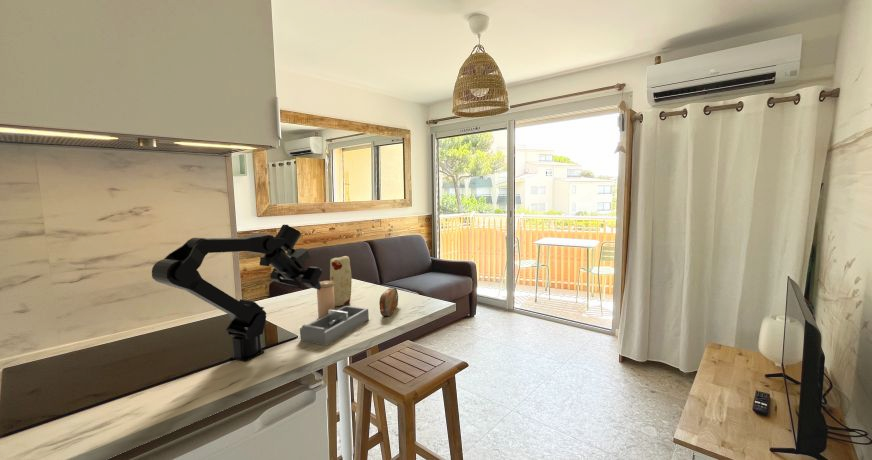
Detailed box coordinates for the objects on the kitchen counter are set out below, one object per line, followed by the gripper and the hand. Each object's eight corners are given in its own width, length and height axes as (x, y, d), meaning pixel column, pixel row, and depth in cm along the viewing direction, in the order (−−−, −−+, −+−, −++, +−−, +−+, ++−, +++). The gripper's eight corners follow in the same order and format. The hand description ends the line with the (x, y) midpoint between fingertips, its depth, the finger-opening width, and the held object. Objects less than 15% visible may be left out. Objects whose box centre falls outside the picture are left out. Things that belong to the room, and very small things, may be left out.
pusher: (339, 331, 118) (338, 317, 117) (321, 328, 121) (320, 314, 120) (348, 325, 122) (347, 311, 122) (330, 322, 125) (330, 309, 125)
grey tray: (325, 345, 110) (325, 329, 109) (300, 340, 114) (299, 325, 113) (368, 319, 131) (368, 306, 130) (346, 315, 135) (345, 302, 134)
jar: (328, 321, 130) (326, 285, 128) (314, 318, 132) (312, 284, 131) (339, 315, 136) (337, 281, 134) (325, 313, 138) (324, 280, 137)
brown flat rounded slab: (386, 319, 131) (385, 296, 130) (378, 319, 131) (377, 296, 130) (399, 305, 145) (398, 285, 144) (391, 305, 146) (391, 285, 145)
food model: (338, 309, 143) (335, 259, 140) (327, 306, 146) (324, 257, 144) (356, 302, 151) (354, 255, 148) (345, 299, 154) (343, 253, 152)
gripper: (316, 243, 115) (341, 269, 126) (274, 240, 123) (301, 265, 134) (299, 272, 109) (326, 298, 120) (256, 267, 117) (286, 291, 128)
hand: (310, 287), depth 126 cm, fingers open, 9 cm apart
